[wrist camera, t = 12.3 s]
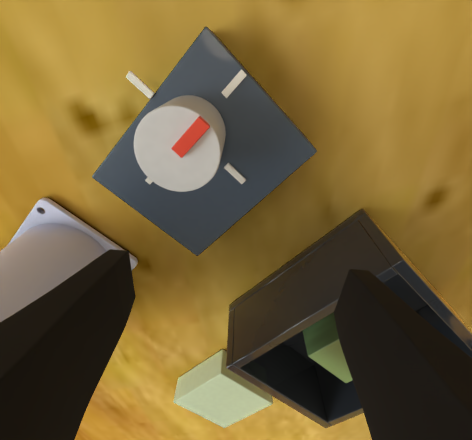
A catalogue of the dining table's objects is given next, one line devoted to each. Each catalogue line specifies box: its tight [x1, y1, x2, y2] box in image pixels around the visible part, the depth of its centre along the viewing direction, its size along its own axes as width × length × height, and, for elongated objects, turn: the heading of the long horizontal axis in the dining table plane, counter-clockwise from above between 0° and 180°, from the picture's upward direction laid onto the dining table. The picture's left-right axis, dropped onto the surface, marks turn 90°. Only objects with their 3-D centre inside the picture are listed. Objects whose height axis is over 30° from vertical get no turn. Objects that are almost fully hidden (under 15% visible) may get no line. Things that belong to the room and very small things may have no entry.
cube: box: [303, 312, 352, 383], centre depth 21 cm, size 4×4×4 cm
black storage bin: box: [226, 209, 472, 428], centre depth 21 cm, size 13×11×6 cm
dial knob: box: [134, 95, 226, 192], centre depth 13 cm, size 4×4×4 cm
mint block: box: [174, 349, 273, 428], centre depth 29 cm, size 7×7×2 cm
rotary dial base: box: [92, 27, 317, 256], centre depth 16 cm, size 10×9×3 cm
